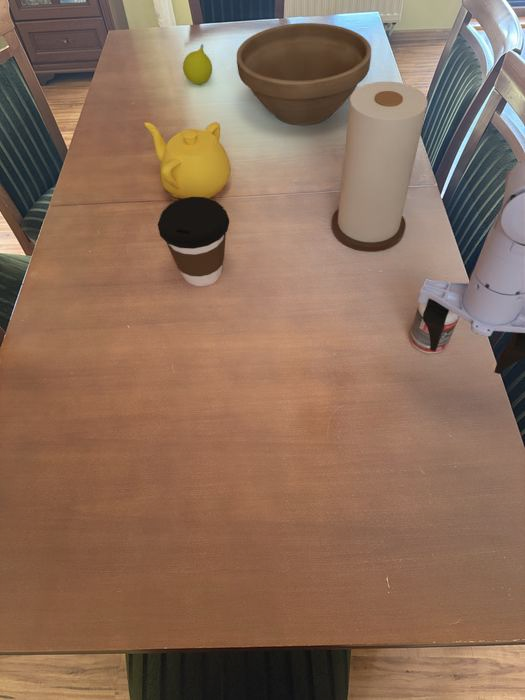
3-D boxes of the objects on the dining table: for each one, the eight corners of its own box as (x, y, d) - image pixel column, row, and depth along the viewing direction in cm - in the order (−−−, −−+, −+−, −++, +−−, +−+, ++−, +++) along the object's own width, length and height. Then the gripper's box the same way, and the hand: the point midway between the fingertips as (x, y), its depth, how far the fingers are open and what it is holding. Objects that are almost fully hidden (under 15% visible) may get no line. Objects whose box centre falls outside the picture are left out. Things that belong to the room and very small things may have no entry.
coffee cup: (221, 303, 82) (212, 246, 72) (159, 289, 84) (143, 232, 75) (243, 258, 88) (238, 200, 79) (186, 247, 91) (174, 189, 81)
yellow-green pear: (217, 85, 126) (213, 42, 118) (190, 92, 125) (184, 48, 117) (208, 73, 130) (203, 30, 122) (181, 79, 129) (175, 36, 121)
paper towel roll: (413, 216, 94) (445, 85, 75) (390, 260, 87) (419, 129, 68) (347, 198, 97) (361, 70, 79) (320, 239, 91) (329, 109, 72)
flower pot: (229, 140, 111) (224, 78, 101) (251, 78, 128) (248, 19, 117) (361, 147, 108) (369, 83, 97) (366, 82, 124) (373, 22, 114)
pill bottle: (439, 360, 74) (458, 315, 66) (402, 345, 76) (416, 299, 68) (453, 334, 77) (472, 288, 69) (417, 319, 79) (432, 273, 71)
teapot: (221, 161, 106) (215, 105, 97) (241, 201, 98) (236, 144, 88) (155, 175, 104) (143, 119, 95) (170, 217, 96) (158, 160, 86)
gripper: (420, 278, 51) (397, 359, 62) (577, 326, 46) (522, 404, 57) (440, 236, 54) (414, 319, 65) (586, 276, 50) (533, 358, 61)
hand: (466, 356), depth 61 cm, fingers open, 7 cm apart
